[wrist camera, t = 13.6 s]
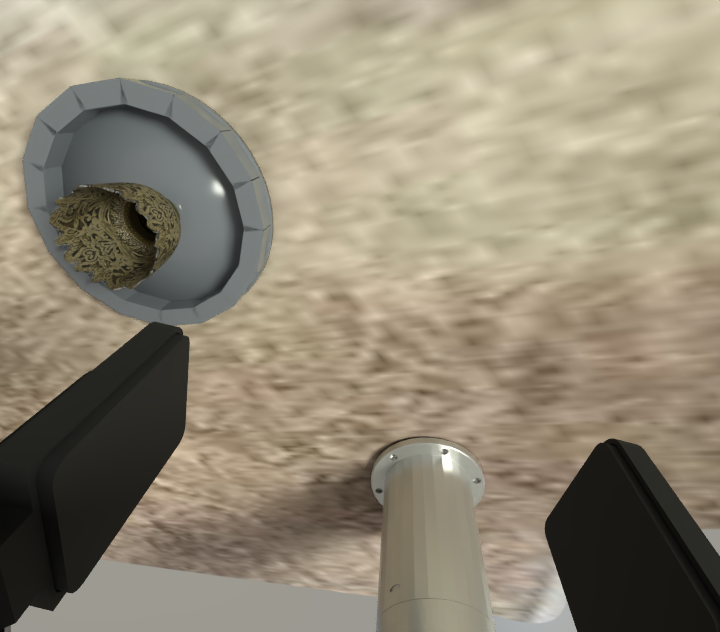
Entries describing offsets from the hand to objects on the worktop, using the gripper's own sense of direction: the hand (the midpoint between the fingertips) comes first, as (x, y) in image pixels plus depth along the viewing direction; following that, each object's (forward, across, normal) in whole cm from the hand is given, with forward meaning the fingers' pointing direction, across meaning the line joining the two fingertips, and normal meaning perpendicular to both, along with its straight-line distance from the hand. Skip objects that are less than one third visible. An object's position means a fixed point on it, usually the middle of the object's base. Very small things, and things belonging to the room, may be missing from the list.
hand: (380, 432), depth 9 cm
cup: (+27, +19, +6) cm, 33 cm away
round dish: (+27, +20, +6) cm, 34 cm away
